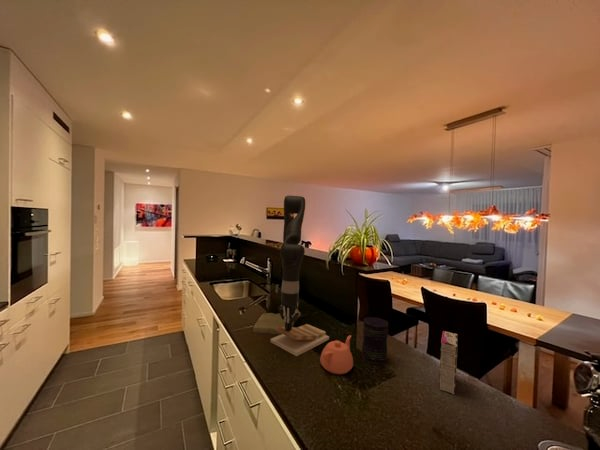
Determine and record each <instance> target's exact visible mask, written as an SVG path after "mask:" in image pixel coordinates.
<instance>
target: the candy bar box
mask: <svg viewBox="0 0 600 450" xmlns="http://www.w3.org/2000/svg"><path fill="white" fill-rule="evenodd" d="M458 339H459V337H458V334H457V333H455V332H450V331H446V330H443V331H442V334H441V340H440V353H439V355H440V357H439V360H440V361H439V379H438V381H439V383H438V384H439V385H438V390H439V391H442V392H445V393H449V394H452V395H456V387H457V386H456V385H457V382H456V381H457V366H458V365H457V362H458V342H459V341H458Z"/></svg>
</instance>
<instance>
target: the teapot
mask: <svg viewBox="0 0 600 450" xmlns="http://www.w3.org/2000/svg"><path fill="white" fill-rule="evenodd" d="M351 338H352V335H351V334H349V335H348V336H347V338H346V340H345V342H342V341H340V340H332V341H330V342H328V343H327V344H326V345H325V346H324V348H323V349H322V351H321V354H320V358H319V359H320V360H319V361H320V364H321V366H322V367H323V368H324V370H326V371H327V372H329V373H331V374H334V375H345V374H347V373H349V372H350V371H351V370H352V368H353V367H354V358H353V357H354V356H353V355H352V352H351V341H350V340H351Z"/></svg>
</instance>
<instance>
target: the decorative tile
mask: <svg viewBox="0 0 600 450" xmlns="http://www.w3.org/2000/svg"><path fill="white" fill-rule="evenodd" d="M294 325H295V322H293V323H292V327H294ZM275 327H285V321H284V319H282V318H281V315H280V313H279V312H278V313H273V312H263V313H262V314H261V316H260V317H259V318H258V320H257V321H256V323H255V324H254V326H253V328H252V331H253V333H261V334H270V335H271V334H272V335H273V334H274V335H281V334H282V333H280V332H278V331H275Z"/></svg>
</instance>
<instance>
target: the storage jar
mask: <svg viewBox="0 0 600 450" xmlns="http://www.w3.org/2000/svg"><path fill="white" fill-rule="evenodd" d="M362 329H363V330H362V334H363V340H362V345H361V351H362V352H361V356H362V358H363V360H364V361H366V362H368V363H370V364H373V365H374V364H375V365H383V364H385V363H386V362H387V355H388V346H387V344H388V341H387V340H388V337H389V322H388V320H385V319H383V318H380V317H377V316H376V317H375V316H367V317H365V318H364V319H363V328H362Z"/></svg>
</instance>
